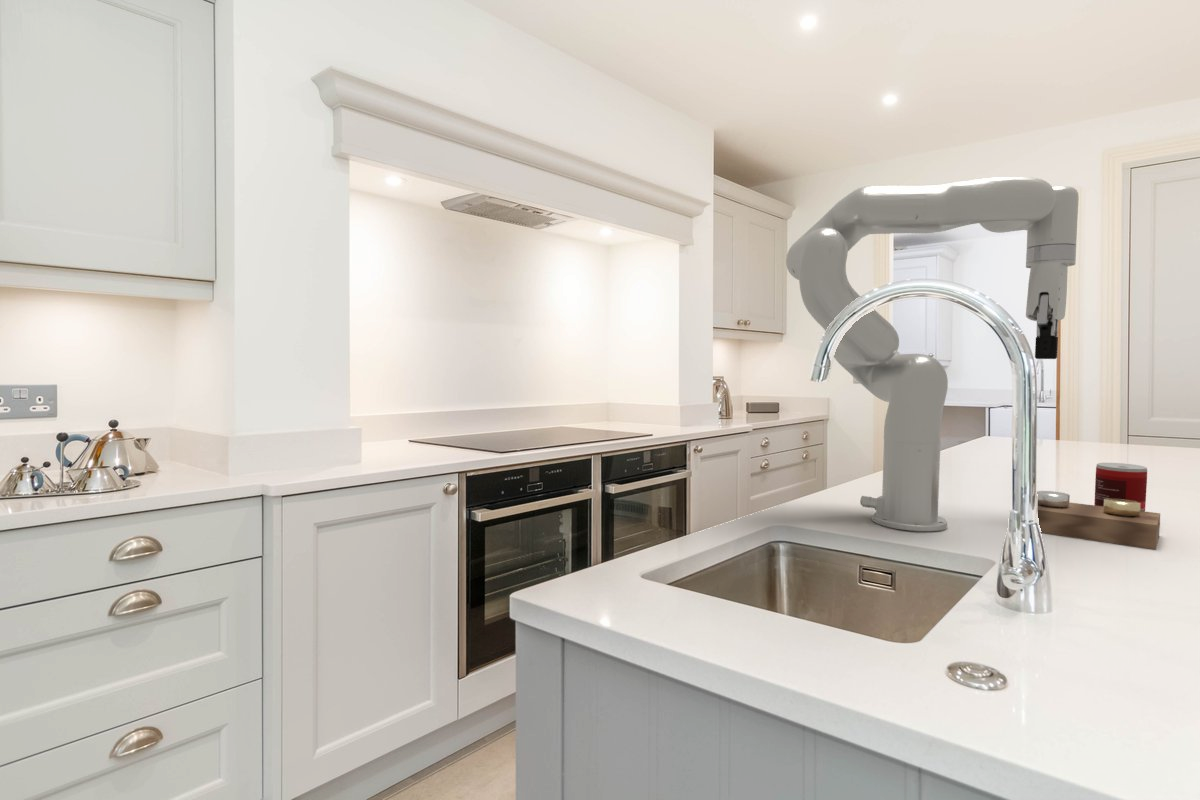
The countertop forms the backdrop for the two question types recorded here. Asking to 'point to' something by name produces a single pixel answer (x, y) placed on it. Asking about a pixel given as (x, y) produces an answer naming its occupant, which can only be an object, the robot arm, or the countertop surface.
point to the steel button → (1053, 499)
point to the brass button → (1121, 507)
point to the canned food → (1120, 483)
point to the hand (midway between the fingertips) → (1045, 358)
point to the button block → (1100, 525)
